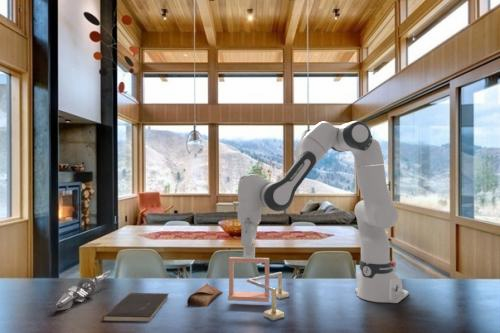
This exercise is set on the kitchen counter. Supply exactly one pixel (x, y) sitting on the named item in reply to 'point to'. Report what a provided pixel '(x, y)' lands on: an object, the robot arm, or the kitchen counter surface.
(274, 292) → the bent towel rail
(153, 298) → the hardcover book
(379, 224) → the robot arm
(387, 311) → the kitchen counter surface
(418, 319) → the kitchen counter surface
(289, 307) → the kitchen counter surface
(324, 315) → the kitchen counter surface
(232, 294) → the pink frame with handle
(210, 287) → the sunglasses case
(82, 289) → the spaceship
